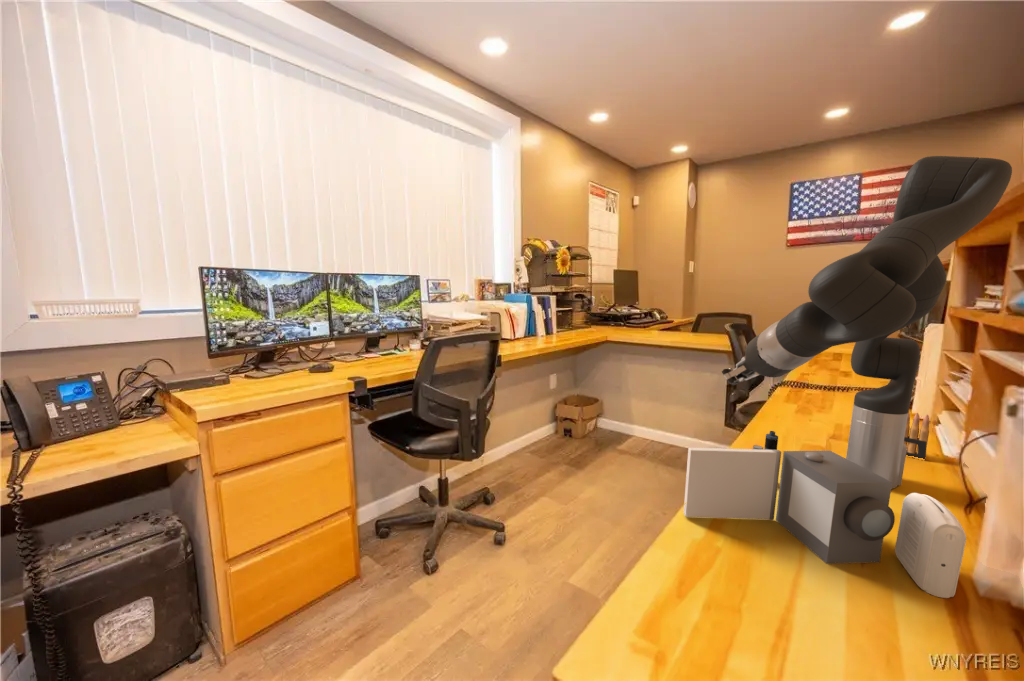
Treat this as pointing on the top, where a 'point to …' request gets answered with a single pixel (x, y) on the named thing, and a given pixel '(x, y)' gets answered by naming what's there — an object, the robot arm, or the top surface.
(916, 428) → the ammunition clip
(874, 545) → the block
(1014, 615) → the top surface
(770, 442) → the vaping device
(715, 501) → the side door
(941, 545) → the photo printer
